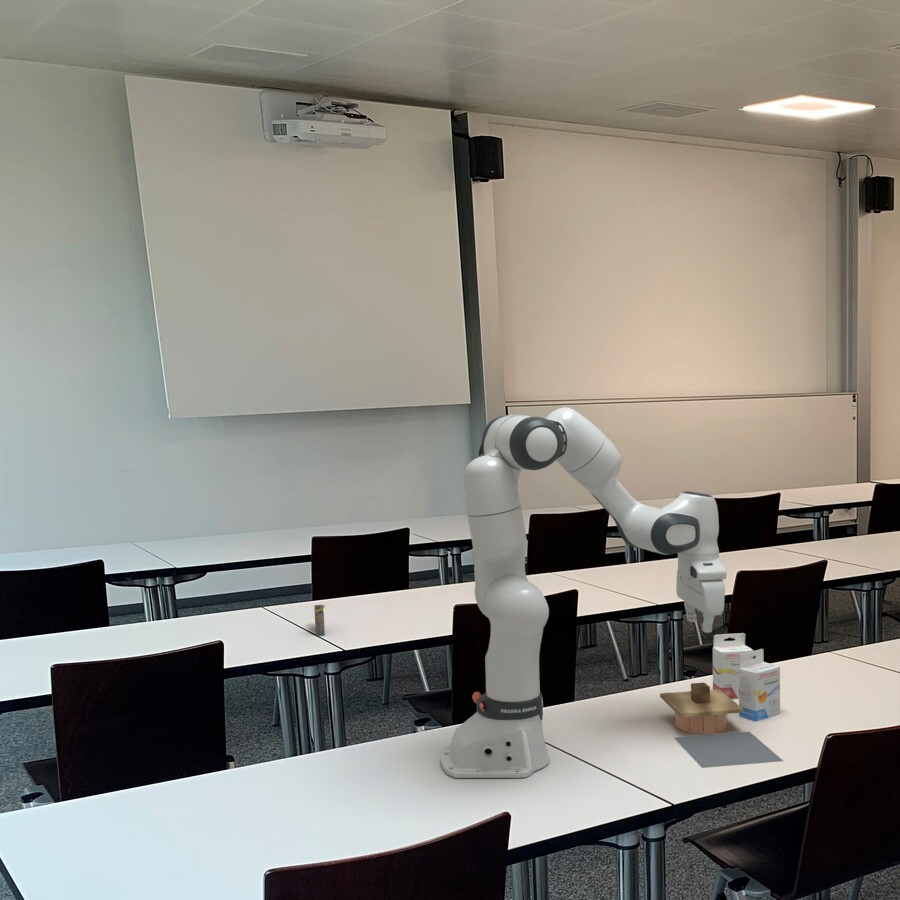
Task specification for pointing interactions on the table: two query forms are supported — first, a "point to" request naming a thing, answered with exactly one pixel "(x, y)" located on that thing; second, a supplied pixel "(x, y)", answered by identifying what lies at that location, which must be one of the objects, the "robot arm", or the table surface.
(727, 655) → the ink cartridge box
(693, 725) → the terracotta bowl
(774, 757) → the rubber mat
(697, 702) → the oak cover
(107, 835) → the table surface
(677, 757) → the table surface
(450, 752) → the robot arm
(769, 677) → the ink box
